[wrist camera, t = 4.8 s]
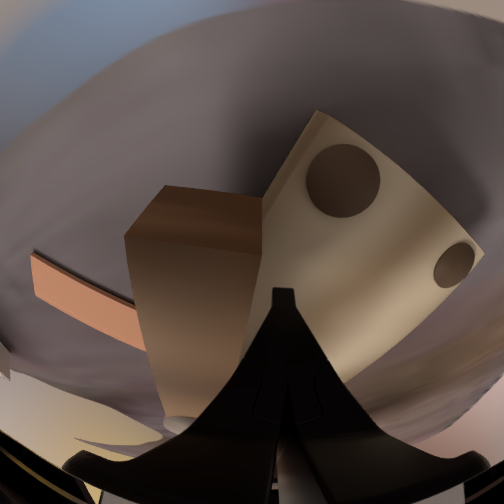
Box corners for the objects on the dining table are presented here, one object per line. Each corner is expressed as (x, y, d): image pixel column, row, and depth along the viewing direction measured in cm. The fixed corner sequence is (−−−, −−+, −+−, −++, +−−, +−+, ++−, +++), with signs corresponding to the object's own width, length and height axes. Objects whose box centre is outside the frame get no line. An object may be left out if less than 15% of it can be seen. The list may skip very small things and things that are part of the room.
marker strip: (179, 324, 15) (178, 328, 15) (164, 354, 17) (163, 358, 17) (32, 252, 12) (30, 254, 12) (37, 292, 15) (35, 295, 14)
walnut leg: (229, 399, 16) (225, 442, 13) (175, 390, 16) (167, 433, 13) (271, 199, 8) (277, 263, 5) (156, 184, 8) (108, 238, 5)
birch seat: (464, 232, 11) (486, 256, 9) (292, 392, 20) (293, 415, 18) (316, 110, 8) (331, 116, 7) (170, 357, 17) (164, 383, 15)
